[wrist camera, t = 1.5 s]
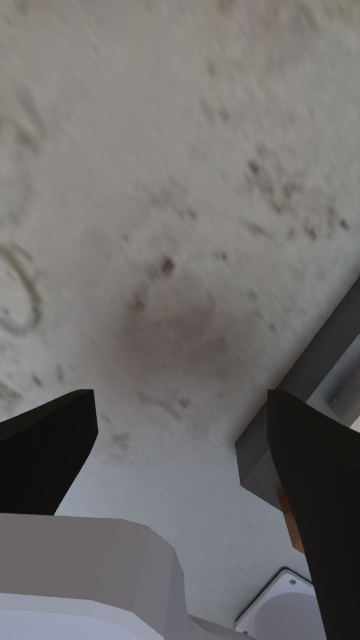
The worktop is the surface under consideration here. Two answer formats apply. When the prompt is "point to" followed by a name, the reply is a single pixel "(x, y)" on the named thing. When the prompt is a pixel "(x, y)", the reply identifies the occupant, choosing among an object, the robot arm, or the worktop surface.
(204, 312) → the worktop surface
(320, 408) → the hand plane
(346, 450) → the robot arm
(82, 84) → the worktop surface
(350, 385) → the lever cap
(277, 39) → the worktop surface
